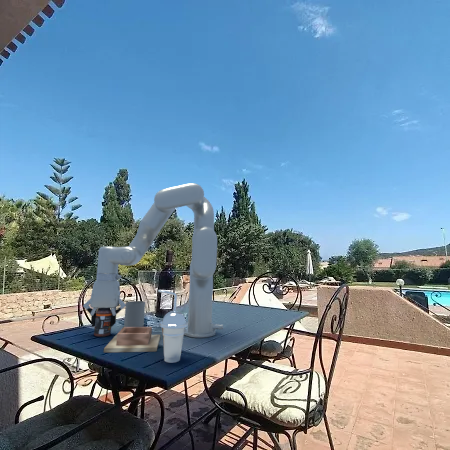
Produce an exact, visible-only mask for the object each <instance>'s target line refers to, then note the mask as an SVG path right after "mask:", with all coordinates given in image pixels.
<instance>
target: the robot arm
mask: <svg viewBox="0 0 450 450" xmlns="http://www.w3.org/2000/svg"><path fill="white" fill-rule="evenodd" d="M182 207H187V208H189V209H190V210H191V211H192V213H193V216H194V217H193V221H194V222H193V234H192V237H191V238H192V239H191V240H192V245H191V246H192V248H191V262H190V265H189V294H188V312H187V313H188V318H187V322H188V326H187V328H185V333H184V336H186V337H190V338H196V339H197V338H200V339H201V338H211V337H212V336H215V335H216V330H219V331H221V330H224V324H221V323H213V320H212V319H213V293H214V274H215V271H216V268H217V253H218V235H217V233H216V231H215V211H214V208H213V205H212V203H211V202H210V201H209V199H207V197H205V191H204V189H203V187H202V186H201V185H200V184H197V183H192V182H191V183H190V182H189V183H185V184H181V185H176V186H172V187H171V186H170V187H167V188H163V189H160V190H159V191H157V192H156V194H155V195H154V199H153V203H152V204H151V206H150V207H149V209H148V211H147V212H146V213H145V214H144V216H143V217H142V218H141V220H140V222H139V225H138V230H137V232H136V234H135V236H134V238H133V239H132V240H131V242H130V243H129V245H128V246H127V245H126V246H111V245H110V246H107V245H106V246H101V247H100V248H99V249H98V257H97V258H98V259H97V267H96V269H97V270H96V280H94V283H93V285H92V289H91V295H90V299H88V300H87V301H86V302H85V303H84V304H83V306H82V307H83V308H84V309H85V310H86V311H87V312H88V313H89V314H90V325H91V327H92V328H93V327H94V328H95V317H96V312H97V311H98V310H99V308H110V309H111V311H112V316H111V323H110V326H111V328H112V327H114V326H115V324H117V315H118V314H119V313H120V312H121V311H122V310H123V309H124V308H125V307H126V302H124V301H123V300H122V299H121V285H120V281H118V280H119V279H120V280H121V279H122V275H120V274H119V265H121V266H135V265H137V264H138V263H139V262H140V261H141V260H142V258H143V257H144V255H145V254H146V252H147V251H148V250H149V248H150V247H151V245H152V244H153V242H154V240H155V238H156V237H157V236H158V234H159V233H160V231H161V230H162V229H163V227H164V225H165V224H166V222H168V220H169V218H170V217H171V215H172V214H173V212H174V211H175V210H176V209H177V208H182ZM117 307H118V308H117Z"/></svg>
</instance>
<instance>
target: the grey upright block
mask: <svg viewBox="0 0 450 450" xmlns="http://www.w3.org/2000/svg"><path fill="white" fill-rule="evenodd" d="M125 305H126V306H125V307H124V308H125V310H124V322H123V323H124V325H123V327H145V326H144V325H145V311H146V302H145V301H143V300H142V301H141V300H140V301H139V300H134V301H133V300H131V301H130V300H129V301H126V302H125Z"/></svg>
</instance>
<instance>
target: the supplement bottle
mask: <svg viewBox="0 0 450 450" xmlns="http://www.w3.org/2000/svg"><path fill="white" fill-rule="evenodd" d="M111 316H112V311H111V308H98V310H97V312H96V317H95V326H94V329H93V335H94V336H95V337H101V338H103V337H107V336H110V335H111V332H112V327H111V326H110V323H111Z"/></svg>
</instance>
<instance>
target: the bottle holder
mask: <svg viewBox="0 0 450 450" xmlns="http://www.w3.org/2000/svg"><path fill="white" fill-rule="evenodd" d="M152 332H153V326H142V327H124V326H123V327H122V328H121V329H120V330H119V331H118V333H117V334H116V335H115V336H113V338H112V339H110V341H109V342H108V343H107V344H106V346H105V347H104V348H103V353H105V354H106V353H142V352H144V353H145V352H157V351H158V347H159V344H160V340H161V334H152Z"/></svg>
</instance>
